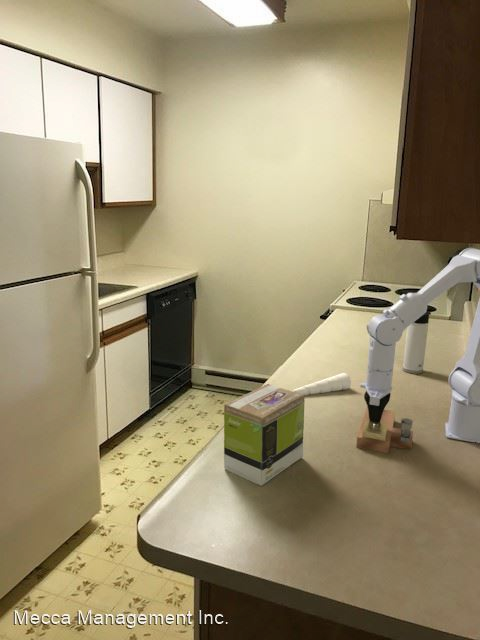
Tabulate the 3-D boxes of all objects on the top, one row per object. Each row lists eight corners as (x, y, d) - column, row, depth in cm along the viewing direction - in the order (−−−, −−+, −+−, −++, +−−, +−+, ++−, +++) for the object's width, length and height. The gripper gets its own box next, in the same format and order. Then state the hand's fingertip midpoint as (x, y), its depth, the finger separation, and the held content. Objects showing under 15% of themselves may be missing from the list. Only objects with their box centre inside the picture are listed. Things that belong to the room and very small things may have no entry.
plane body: (413, 423, 125) (415, 407, 124) (410, 457, 108) (412, 439, 107) (366, 415, 129) (367, 400, 128) (356, 447, 112) (357, 429, 111)
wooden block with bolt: (387, 430, 115) (388, 422, 115) (385, 441, 110) (385, 433, 110) (365, 426, 117) (366, 418, 117) (361, 437, 112) (362, 429, 111)
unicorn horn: (270, 394, 142) (270, 378, 140) (342, 385, 150) (344, 370, 149) (277, 400, 137) (278, 384, 136) (351, 391, 146) (352, 376, 144)
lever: (401, 423, 115) (402, 414, 114) (412, 425, 114) (413, 416, 113) (398, 442, 106) (400, 432, 105) (410, 444, 105) (412, 434, 104)
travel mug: (425, 375, 160) (432, 314, 155) (403, 373, 161) (410, 312, 156) (422, 368, 166) (429, 310, 161) (401, 366, 167) (407, 308, 162)
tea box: (265, 443, 113) (268, 381, 110) (303, 458, 107) (307, 394, 103) (221, 469, 102) (223, 402, 98) (261, 488, 96) (264, 417, 92)
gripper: (366, 356, 122) (361, 407, 125) (357, 375, 108) (352, 432, 112) (396, 360, 119) (390, 412, 123) (391, 380, 106) (385, 438, 109)
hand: (374, 422), depth 117 cm, fingers closed
